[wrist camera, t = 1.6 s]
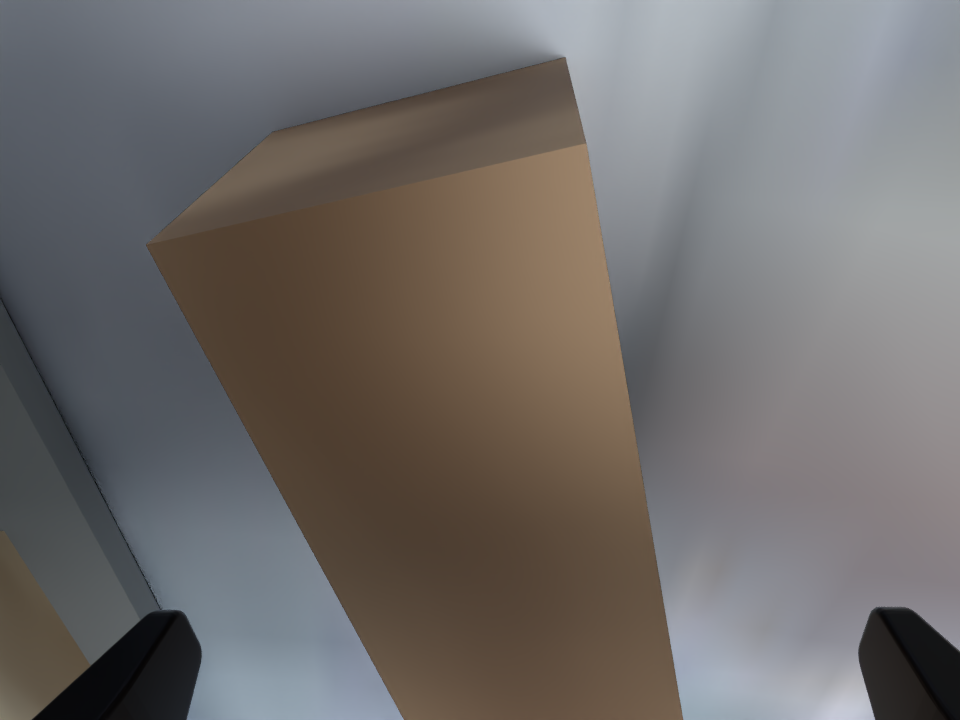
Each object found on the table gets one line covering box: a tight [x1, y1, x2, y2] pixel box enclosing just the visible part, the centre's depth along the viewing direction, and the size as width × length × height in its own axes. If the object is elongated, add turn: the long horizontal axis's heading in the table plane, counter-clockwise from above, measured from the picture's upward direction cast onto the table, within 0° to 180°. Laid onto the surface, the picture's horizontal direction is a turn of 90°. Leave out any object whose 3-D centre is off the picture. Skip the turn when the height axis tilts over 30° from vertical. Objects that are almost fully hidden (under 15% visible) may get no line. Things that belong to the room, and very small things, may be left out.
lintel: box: [146, 58, 683, 720], centre depth 11 cm, size 4×12×4 cm, turn 14°
